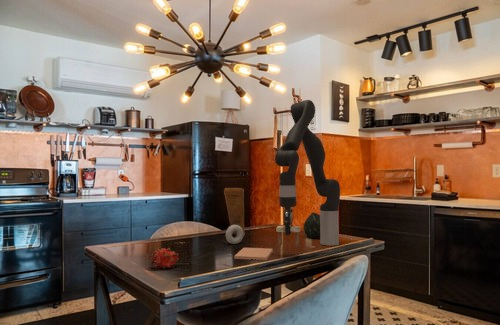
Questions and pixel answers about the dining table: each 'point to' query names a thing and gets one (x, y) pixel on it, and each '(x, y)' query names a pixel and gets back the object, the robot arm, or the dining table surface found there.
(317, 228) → the squash
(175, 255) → the dragon fruit
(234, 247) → the dining table surface
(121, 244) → the dining table surface
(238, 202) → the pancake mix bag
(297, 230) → the stool
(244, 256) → the mat
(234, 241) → the donut
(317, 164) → the robot arm
